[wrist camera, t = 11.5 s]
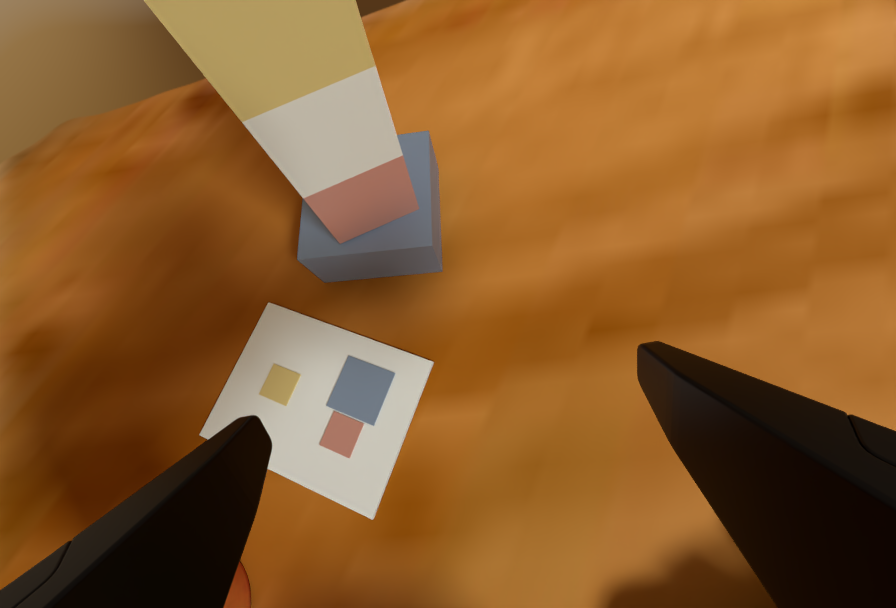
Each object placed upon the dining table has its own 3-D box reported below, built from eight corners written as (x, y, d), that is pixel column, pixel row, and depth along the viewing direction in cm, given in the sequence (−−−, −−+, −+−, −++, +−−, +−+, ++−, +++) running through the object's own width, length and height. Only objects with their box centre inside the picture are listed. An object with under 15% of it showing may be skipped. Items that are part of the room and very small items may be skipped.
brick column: (419, 208, 22) (322, -107, 9) (339, 244, 22) (122, -27, 9) (388, 145, 24) (267, -204, 11) (314, 177, 24) (95, -137, 10)
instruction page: (433, 362, 23) (432, 361, 23) (373, 518, 21) (371, 520, 21) (270, 303, 26) (267, 301, 26) (201, 435, 24) (197, 435, 23)
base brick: (443, 273, 25) (432, 245, 22) (326, 284, 26) (296, 259, 22) (439, 171, 28) (428, 130, 24) (333, 184, 29) (307, 147, 25)
